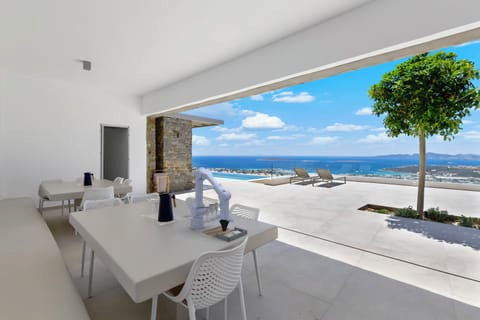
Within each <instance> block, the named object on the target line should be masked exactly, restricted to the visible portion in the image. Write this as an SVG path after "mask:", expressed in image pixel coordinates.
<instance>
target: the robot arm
mask: <svg viewBox="0 0 480 320" xmlns="http://www.w3.org/2000/svg"><path fill="white" fill-rule="evenodd" d="M194 175H195V177H194V179H195V191H194V192H195V193H194V194H195V196H194V197H195V204H194V205H192V209H191V211H190V215H191V216H190V217H191V219H190V226H189V229H192V230H195V229H198V230H199V229H203V228H204V216H205V215H206V214H205V213H206V208H205V207H206V204H204V202H203V201H204V200H203V199H204V198H203V197H204V195H203V194H204V182H205V180H207V181H208V182H209V183H210V185H212V186H213V187H212V189H213V191H214V192H215V193H216V194H217V197H218V200H219V201H218V204H219V203H220V208H219V214H217V215H215V218H219V219H218V222H219V223H220V226H221V227H222V230H223V232H225V231H226V230H227V228H228V225H229V223H234V222H235V220H234V218H232V217H230V200H231V198H232V194H231V192H230V191H229V190H227V189H225V188H224V186H223V185H222V183H220V182H219V183H218V181H217V180H216V179H215V177H214V176H213V172H212V170H211V169H210V168H208V169H207V168H206V169H197V170H196V171H195V174H194Z"/></svg>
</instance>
